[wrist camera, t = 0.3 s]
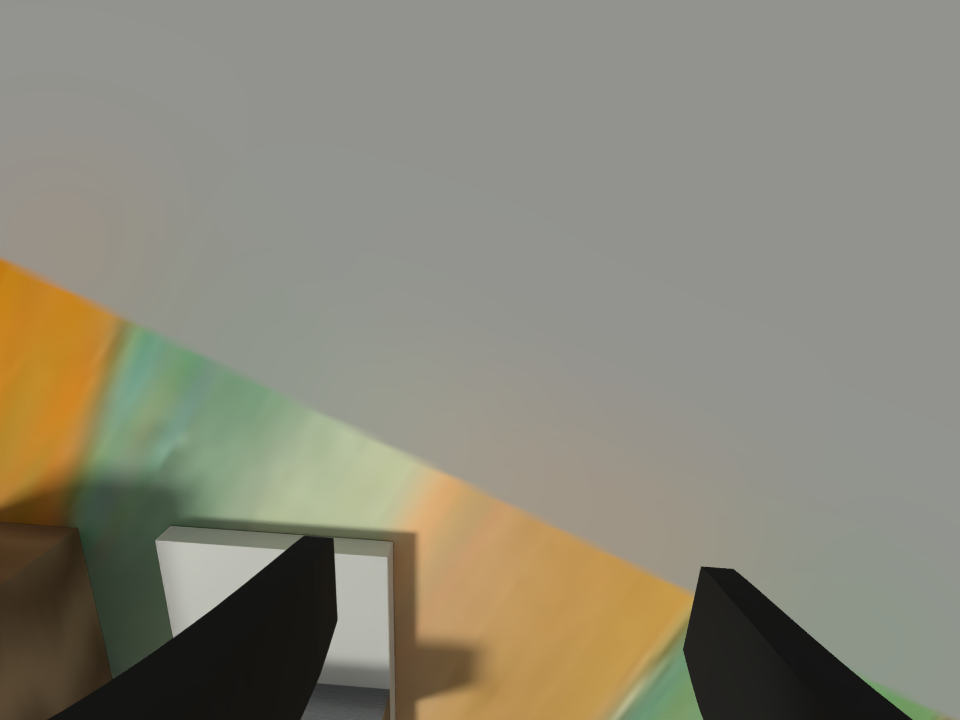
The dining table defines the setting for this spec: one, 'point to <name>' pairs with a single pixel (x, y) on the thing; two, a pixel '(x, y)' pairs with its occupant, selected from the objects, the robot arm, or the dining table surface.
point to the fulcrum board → (360, 608)
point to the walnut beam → (46, 623)
